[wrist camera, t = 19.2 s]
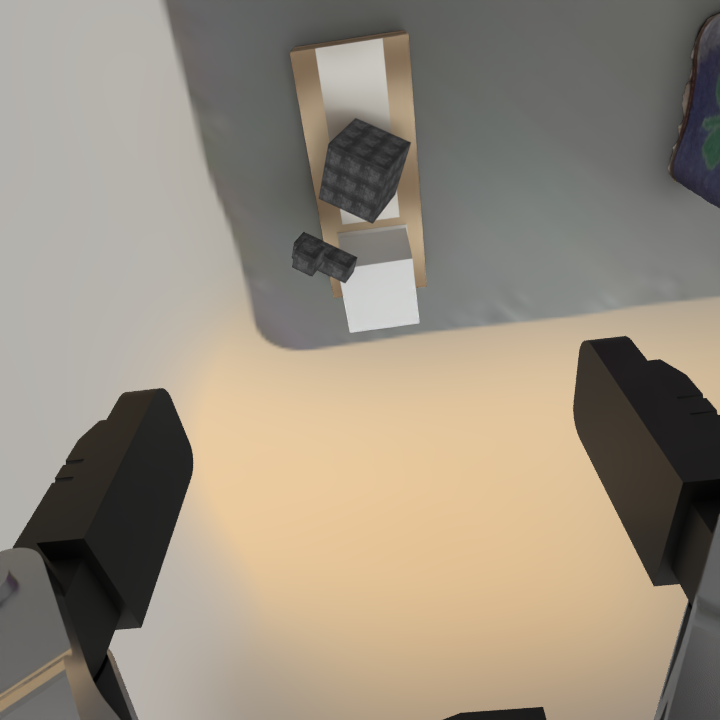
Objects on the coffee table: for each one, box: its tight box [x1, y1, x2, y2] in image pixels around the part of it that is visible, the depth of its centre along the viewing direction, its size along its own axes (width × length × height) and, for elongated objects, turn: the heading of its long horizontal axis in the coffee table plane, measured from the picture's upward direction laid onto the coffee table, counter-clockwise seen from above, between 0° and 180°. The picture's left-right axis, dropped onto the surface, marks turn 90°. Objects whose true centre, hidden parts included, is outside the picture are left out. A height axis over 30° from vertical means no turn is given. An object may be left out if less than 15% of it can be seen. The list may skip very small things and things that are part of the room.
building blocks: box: [292, 118, 411, 283], centre depth 28 cm, size 3×6×8 cm, turn 168°
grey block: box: [339, 228, 419, 333], centre depth 32 cm, size 4×4×4 cm
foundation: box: [290, 30, 427, 298], centre depth 33 cm, size 14×6×3 cm, turn 8°
